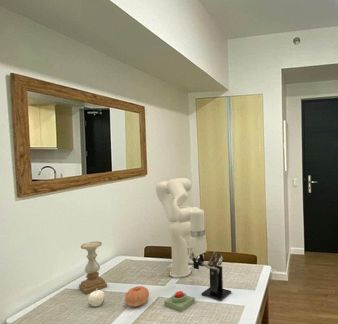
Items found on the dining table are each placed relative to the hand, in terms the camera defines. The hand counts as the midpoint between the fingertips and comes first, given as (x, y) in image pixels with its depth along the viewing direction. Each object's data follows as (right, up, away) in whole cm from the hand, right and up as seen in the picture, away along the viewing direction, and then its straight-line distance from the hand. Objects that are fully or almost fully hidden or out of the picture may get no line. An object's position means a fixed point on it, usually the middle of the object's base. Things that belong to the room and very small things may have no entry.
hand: (198, 267), depth 146 cm
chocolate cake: (+6, -11, +33) cm, 36 cm away
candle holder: (-59, -13, +5) cm, 60 cm away
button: (-7, -9, -14) cm, 18 cm away
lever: (+4, 0, -3) cm, 5 cm away
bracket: (+10, -12, -5) cm, 16 cm away
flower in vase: (-9, -11, +38) cm, 40 cm away
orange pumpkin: (-27, -13, -13) cm, 33 cm away
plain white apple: (-47, -13, -13) cm, 51 cm away
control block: (-7, -12, -14) cm, 20 cm away
